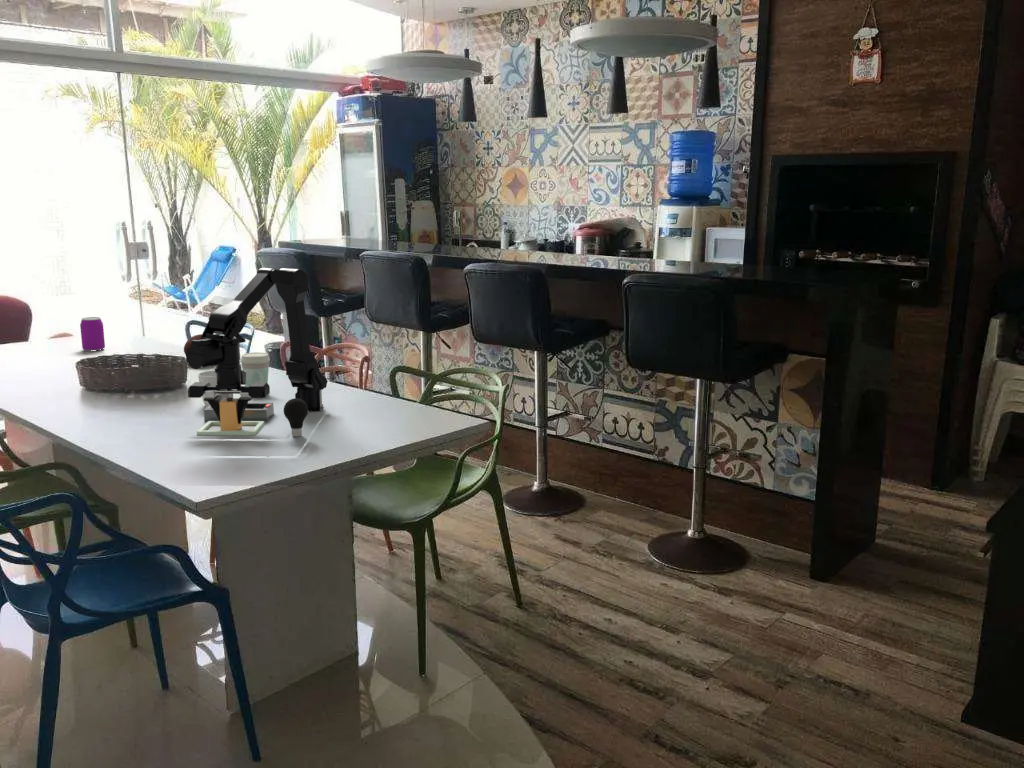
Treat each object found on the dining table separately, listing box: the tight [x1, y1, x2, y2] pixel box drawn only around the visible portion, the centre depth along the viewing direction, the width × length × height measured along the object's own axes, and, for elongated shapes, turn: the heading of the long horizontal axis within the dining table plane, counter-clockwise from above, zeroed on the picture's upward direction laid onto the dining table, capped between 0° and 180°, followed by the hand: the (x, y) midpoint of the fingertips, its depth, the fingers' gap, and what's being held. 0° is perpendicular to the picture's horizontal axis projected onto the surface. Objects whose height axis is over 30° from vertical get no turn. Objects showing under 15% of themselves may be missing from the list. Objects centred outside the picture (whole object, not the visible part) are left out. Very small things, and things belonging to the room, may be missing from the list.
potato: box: [183, 333, 203, 356], centre depth 298 cm, size 11×13×10 cm
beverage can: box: [79, 316, 106, 352], centre depth 319 cm, size 8×8×12 cm
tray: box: [196, 421, 265, 436], centre depth 214 cm, size 14×10×2 cm
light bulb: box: [283, 398, 309, 438], centre depth 210 cm, size 6×6×10 cm
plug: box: [219, 397, 243, 431], centre depth 213 cm, size 4×4×9 cm
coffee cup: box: [240, 351, 271, 386], centre depth 255 cm, size 8×9×12 cm
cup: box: [197, 370, 217, 408], centre depth 237 cm, size 8×8×10 cm
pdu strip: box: [203, 402, 275, 422], centre depth 225 cm, size 16×8×4 cm, turn 93°
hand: (231, 423), depth 214 cm, fingers closed on plug, 4 cm apart
